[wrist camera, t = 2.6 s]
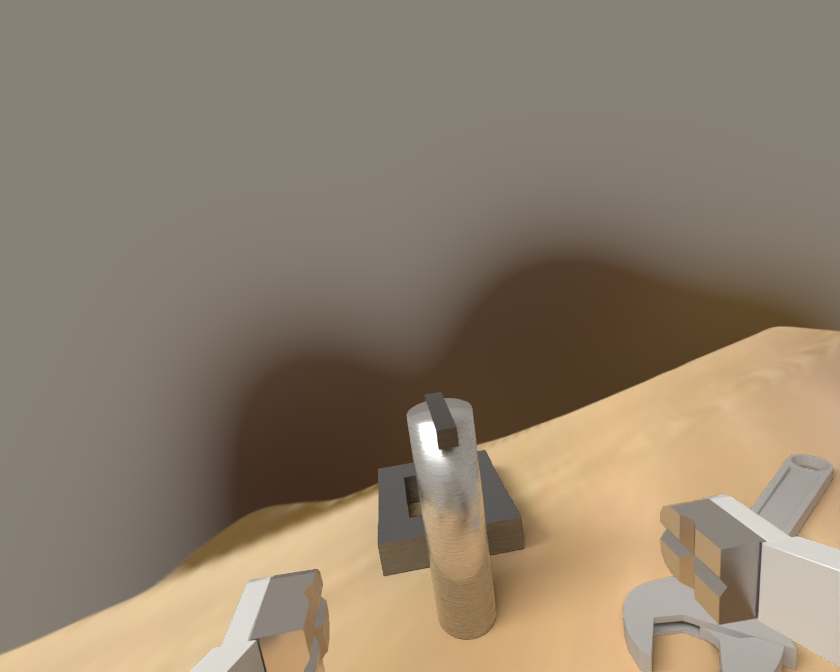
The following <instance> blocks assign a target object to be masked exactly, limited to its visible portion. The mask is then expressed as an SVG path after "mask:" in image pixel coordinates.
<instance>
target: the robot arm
mask: <svg viewBox="0 0 840 672" xmlns="http://www.w3.org/2000/svg"><path fill="white" fill-rule="evenodd" d="M660 522H661V523H662V524H663V526H664V527H665V528H666V530H665V532H664V534H663V535H662V537H661V538H660V541H661V552H662V555H663V558H664V561H665V564H666V565H667V567H668V568H669V570H670V572H671V573H672V574H673V576H674V577H675V578H676V579H677V580H678V581H679V582H680V583H682V584H684V585H686V586H688V587H690V588H692V589H694V598H695V600H696V601H697V602H698V603H699V604H700V605H701V606H702V607H703V608H704V609H705V610H706V612H707V613H708V614H709V615H710V616H711V617H712V618H713V619H714V620H715V621H716V622H717V623H718V624H719V625H721V624H727V623H733V622H739V621H745V620H751V619H757V618H758V621H760V622H761V623H763V624H765V625H767V626H768V627H770V628H772V629H774V630H775V631H777V632H779V633H781V634H782V635H784V636H786V637H788V638H789V639H791V640H793V641H794V642H796V643H798V644H800V645H801V646H803V647H805V648H807V649H808V650H810V651H812V652H814V653H815V654H817V655H819V656H821V657H822V658H824V659H826V660H827V661H829V662H831V663H833V664H834V665H836V666H838V667H840V550H839V549H836V548H833V547H830V546H827V545H824V544H821V543H817V542H814V541H811V540H808V539H805V538H802V537H799V536H796V537H790V536H788V535H787V534H786V533H784V532H783V531H781V530H780V529H778V528H777V527H775V526H774V525H772V524H771V523H769V522H768V521H766V520H765V519H763V518H762V517H760V516H759V515H758V514H756V513H755V512H753V511H752V510H750V509H749V508H747V507H746V506H744V505H743V504H741V503H740V502H738V501H737V500H735V499H734V498H733V497H731V496H728V495H725V494H721V495H716V496H711V497H706V498H703V499H700V500H694V501H689V502H684V503H678V504H673V505H668V506H663V507H662V510H661V512H660ZM322 586H323V582H322V578H321V574H320V571H319V570H318V569H313V570H307V571H300V572H294V573H288V574H281V575H275V576H273V577H272V576H270V577H264V578H258V579H252V580H250V581H249V582H248V583H247V584H246V586H245V588H244V591H243V593H242V596H241V598H240V601H239V603H238V606H237V608H236V610H235V613H234V615H233V618H232V620H231V623H230V625H229V628H228V630H227V632H226V635H225V637H224V640H223V642H222V645H221V647H216V648H213V649H212V650H211V651H210V652H209V653H208V654H207V655H206V656H205V657H204V658H203V659H202V660H201V661H200V662H198V663H197V664H196V665H195V666H194V667H193V668H192V669H191V670H190V671H189V672H325V670H324V665H323V660H322V658H323V657H324V656H325V654H326V653H327V652H328V645H329V613H328V607H327V602H326V600H325V599H323V598H322V597H321V593H322Z"/></svg>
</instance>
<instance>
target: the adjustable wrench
mask: <svg viewBox="0 0 840 672" xmlns="http://www.w3.org/2000/svg"><path fill="white" fill-rule="evenodd" d="M806 468H809V469H806ZM811 469H813V470H811ZM832 476H833V465H832V464H831V463H829V462H828V461H826V460H824V459H821V458H818V457H815V456H810V455H801V454H800V455H792V456H790V457H788V458H787V460H786V461H785V463H784V464H783V465H782V467H781V468H780V469H779V471H778V472H777V474H776V475H775V476H774V478H773V479H772V481H771V482H770V483H769V485H768V486H767V487H766V489H765V490H764V492H763V493H762V494H761V496H760V497H759V498H758V500H757V501H756V503H755V504H754V505H753V507H752V508H751V510H752V511H753V512H755V513H756V514H758V515H759V516H760V517H762V518H763V519H765V520H766V521H768V522H769V523H771V524H772V525H774V526H775V527H777V528H778V529H780V530H781V531H783V532H784V533H786V534H787V535H788V536H790V537H796V536H797V534H798V533H799V531H800V530H801V528H802V527H803V525H804V523H805V522H806V520H807V519H808V517H809V516H810V514H811V513H812V511H813V509H814V508H815V506H816V505H817V503H818V502H819V500H820V499H821V497H822V495H823V494H824V492H825V491H826V489H827V488H828V486H829V485H830V483H831V481H832ZM623 620H624V637H625V640H626V644H627V647H628V651H629V653H630V655H631V656H632V658H633V659H634V661H635V663H636V664H637V666H638V667H639V669H640V670H642V671H643V672H652V662H653V644H654V636H660V635H670V634H680V633H684V634H687V635H690V636H693V637H696V638H698V639H702V640H705V641H708V642H710V643H712V644H713V645H714V646H715V647H717V648H718V649H719V663H720V672H782V669H783V666H785V667H788V668H791V669H794V670H796V656H797V648H796V647H795V645H794V643H793V642H792V641H791V639H789V638H788V637H786V636H784V635H782V634H781V633H779V632H777V631H775V630H774V629H772V628H770V627H768V626H767V625H765V624H763V623H761V622H760V621H758V618H757V619H751V620H745V621H739V622H733V623H727V624H721V625H719V624H718V623H717V622H716V621H715V620H714V619H713V618H712V617H711V616H710V615H709V614H708V613H707V612H706V610H705V609H704V608H703V607H702V606H701V605H700V604H699V603H698V602H697V601H696V600H695V598H694V589H692V588H690V587H688V586H686V585H684V584H682V583H680V582H679V581H678V580H677V579H676V578H675V577H674V576H672V577H667V578H663V579H659V580H655V581H651V582H647V583H643V584H641V585H639V586H637V587H636V588H634V589H633V590H632V591H631V592H630V593H629V594H628V595H627V597H626V600H625V603H624V606H623Z"/></svg>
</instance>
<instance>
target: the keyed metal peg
mask: <svg viewBox="0 0 840 672" xmlns="http://www.w3.org/2000/svg"><path fill="white" fill-rule="evenodd" d="M425 401H426V402H423V403H420V404H418V405H416V406H414V407H413V408H411V409H410V410H409V411H408V413H407V421H408V427H409V434H410V440H411V446H412V453H413V459H414V466H415V472H416V479H417V485H418V492H419V498H420V504H421V511H422V517H423V523H424V530H425V536H426V543H427V549H428V555H429V562H430V568H431V575H432V581H433V587H434V594H435V600H436V607H437V613H438V619H439V622H440V625H441V626H442V628H443V629H444V630H445V631H446V632H447V633H448V634H450V635H451V636H453V637H456V638H459V639H465V640H466V639H475V638H478V637H480V636H482V635H484V634H486V633H487V632H488V631H489V630H490V629H491V628H492V626H493V624H494V622H495V620H496V604H495V596H494V588H493V579H492V571H491V563H490V554H489V546H488V537H487V529H486V521H485V512H484V504H483V496H482V487H481V479H480V470H479V462H478V454H477V445H476V437H475V430H474V420H473V412H472V406H471V405H470V404H469V403H468V402H466V401H464V400H460V399H452V398H444V397H443V395H442V393H441V392H439V393H433V394H427V395H425Z"/></svg>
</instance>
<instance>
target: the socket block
mask: <svg viewBox="0 0 840 672" xmlns="http://www.w3.org/2000/svg"><path fill="white" fill-rule="evenodd" d="M477 454H478V462H479V470H480V479H481V487H482V496H483V504H484V512H485V521H486V529H487V537H488V546H489V554H490V555H493V554H498V553H504V552H509V551H514V550H519V549H524V540H523V530H522V520H521V516H520V514H519V512H518V510H517V508H516V507H515V505H514V503H513V501H512V499H510V497H509V495H508V493H507V491H506V489H505V487H504V485H503V484H502V482H501V480H500V478H499V476H498V474H497V472H496V470H495V469H494V467H493V465H492V462H491V460H490V458H489V456H488V454H487V452H486V450H482V451H477ZM378 484H379V524H378V548H379V554H380V559H381V565H382V570H383V575H384V576H386V575H391V574H396V573H401V572H406V571H411V570H416V569H422V568H427V567H430V562H429V555H428V549H427V543H426V536H425V530H424V523H423V517H422V516H416V517H411V518H410V515H409V506H408V503H412V502H417V501H420V498H419V492H418V485H417V479H416V472H415V466H414V463H410V464H403V465H398V466H392V467H387V468H381V469H378Z"/></svg>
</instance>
